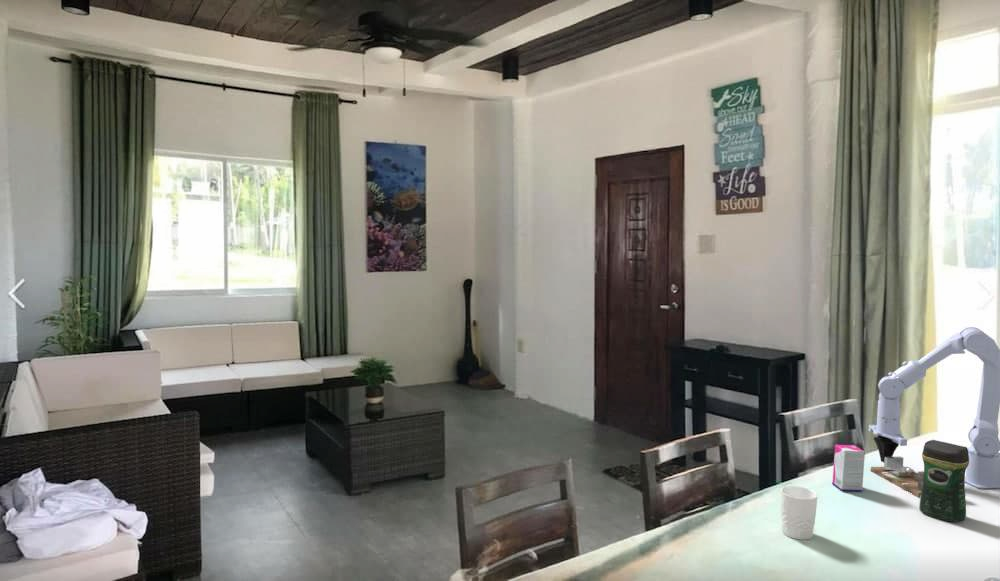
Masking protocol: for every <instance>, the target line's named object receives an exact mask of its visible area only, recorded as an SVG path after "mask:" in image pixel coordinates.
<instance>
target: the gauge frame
mask: <svg viewBox="0 0 1000 581" xmlns="http://www.w3.org/2000/svg"><path fill="white" fill-rule="evenodd" d="M884 470H885V469H884V466H871V467H870V472H871V473H874V474H876V475H877V476H879V477H881V478H882V479H884V480H886V481H888V482H890V483H891V484H893V485H895V486H897V487H898V488H900V489H902V490H904V491H906V492H907V491H908V492H907V493H909V492H910V493H909V494H911V493H912V494H911V495H913V496H915V497H917V498H920V496H921V491H922V485H923V478H924V470H922V471H918V473H917V472H915V476H899V477H898V476H896V475H894V474H893V473H891V472H889V471H884Z"/></svg>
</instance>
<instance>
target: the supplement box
mask: <svg viewBox="0 0 1000 581" xmlns="http://www.w3.org/2000/svg"><path fill="white" fill-rule="evenodd" d="M865 452H866V451H865V450H863V449H861V448H860V447H859V446H857V445H855V444H853V445H852V444H835V445H834V456H833V457H834V458H833V470H832V471H833V472H832V485H833V486H834V487H835V488H837V489H838V490H839V491H840V492H845V493H846V492H847V493H848V492H851V493H854V492H855V493H856V492H857V493H862V492H863V487H864V486H863V485H864V484H863V483H864V472H865V471H864V470H865V467H864V466H865V456H866V455H865V454H866V453H865Z"/></svg>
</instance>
